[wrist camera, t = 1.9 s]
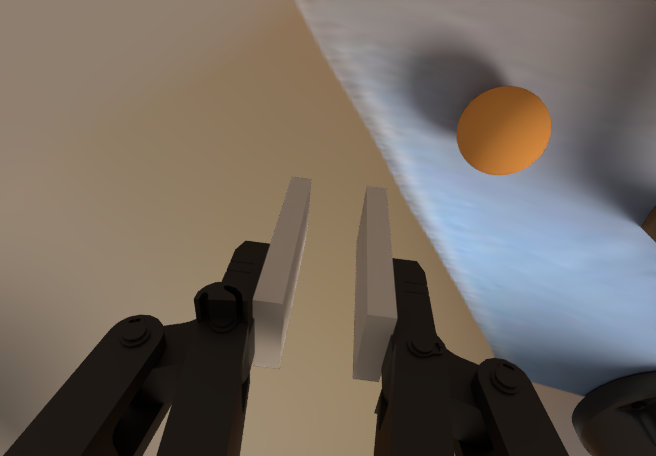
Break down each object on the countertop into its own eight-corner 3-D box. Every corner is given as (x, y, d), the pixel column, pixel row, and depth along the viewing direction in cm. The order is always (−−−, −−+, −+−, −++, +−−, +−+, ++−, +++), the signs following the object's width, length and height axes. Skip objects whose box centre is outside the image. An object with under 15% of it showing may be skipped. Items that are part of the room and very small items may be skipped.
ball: (515, 157, 29) (542, 196, 25) (441, 148, 29) (454, 184, 25) (546, 81, 26) (584, 109, 22) (463, 70, 26) (483, 96, 22)
